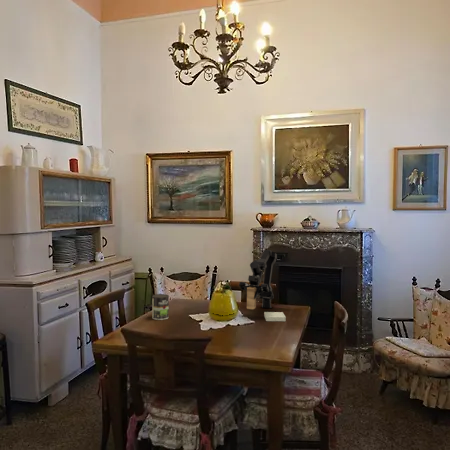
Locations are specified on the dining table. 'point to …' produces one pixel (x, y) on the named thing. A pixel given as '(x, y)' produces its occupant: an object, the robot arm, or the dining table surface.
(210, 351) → the dining table surface
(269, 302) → the robot arm
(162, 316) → the coffee can
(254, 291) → the oak block
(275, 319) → the tile base
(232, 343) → the dining table surface
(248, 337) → the dining table surface
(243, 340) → the dining table surface
